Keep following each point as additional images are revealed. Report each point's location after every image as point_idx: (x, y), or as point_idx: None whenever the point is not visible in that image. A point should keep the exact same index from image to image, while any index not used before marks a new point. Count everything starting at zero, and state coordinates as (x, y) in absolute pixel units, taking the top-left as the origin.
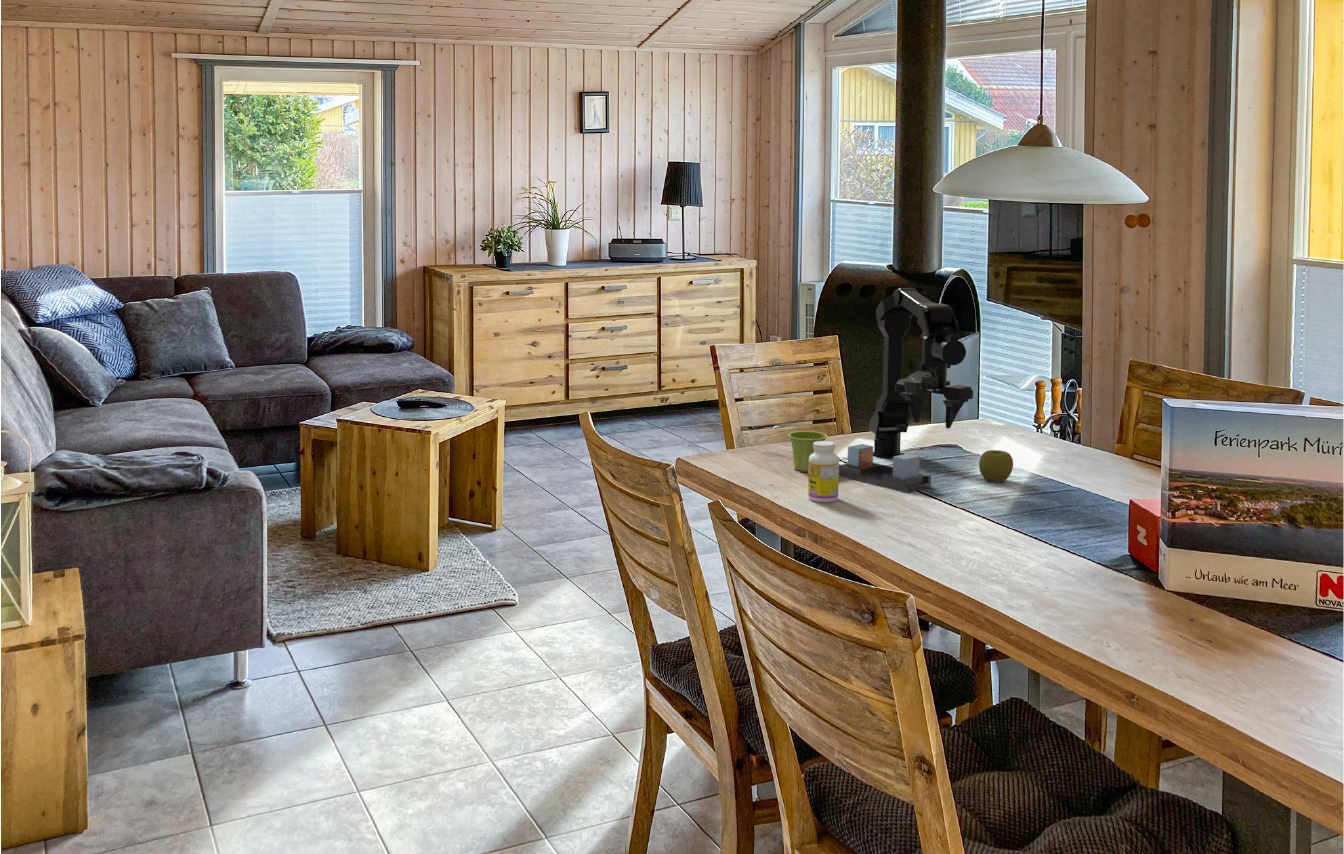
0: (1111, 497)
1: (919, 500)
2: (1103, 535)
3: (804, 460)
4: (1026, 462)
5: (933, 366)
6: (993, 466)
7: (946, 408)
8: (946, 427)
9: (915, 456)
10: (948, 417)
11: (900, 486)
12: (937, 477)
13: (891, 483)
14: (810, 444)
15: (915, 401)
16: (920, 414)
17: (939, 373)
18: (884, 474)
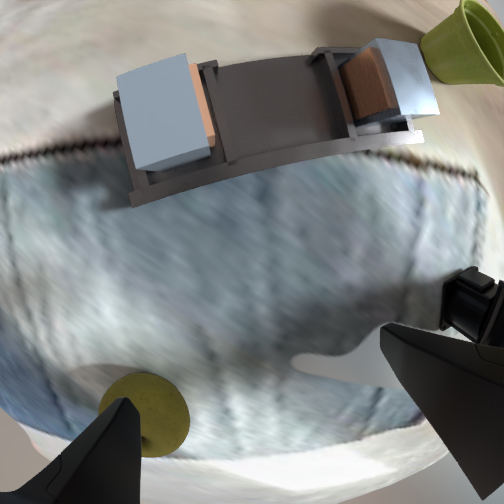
0: (34, 431)
1: (49, 102)
2: None
3: (436, 26)
4: (270, 474)
5: None
6: (105, 395)
7: (51, 494)
8: (119, 398)
9: (138, 147)
10: (72, 444)
11: None
12: (242, 294)
13: None
14: (455, 13)
15: (490, 413)
16: (406, 387)
17: None
18: (297, 126)
